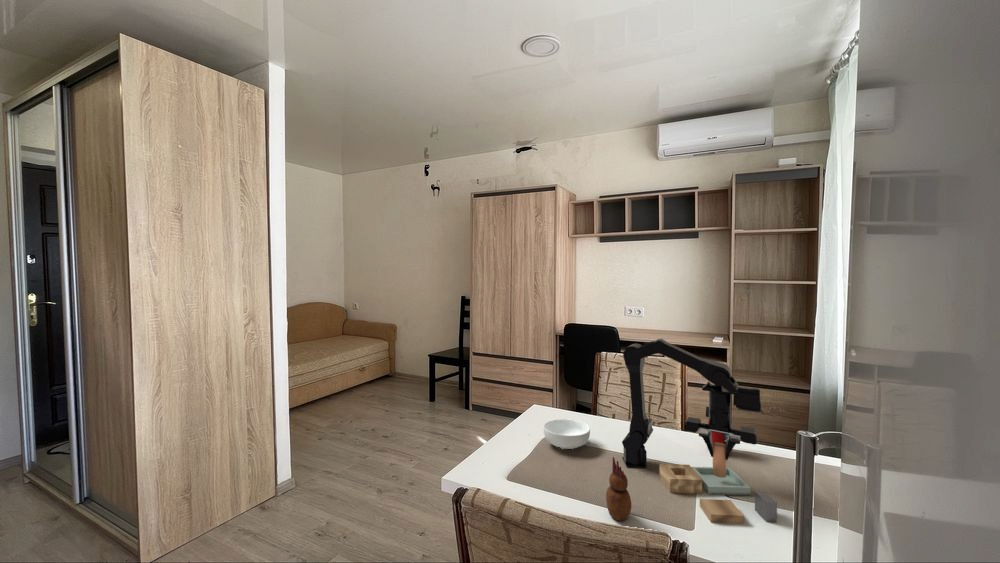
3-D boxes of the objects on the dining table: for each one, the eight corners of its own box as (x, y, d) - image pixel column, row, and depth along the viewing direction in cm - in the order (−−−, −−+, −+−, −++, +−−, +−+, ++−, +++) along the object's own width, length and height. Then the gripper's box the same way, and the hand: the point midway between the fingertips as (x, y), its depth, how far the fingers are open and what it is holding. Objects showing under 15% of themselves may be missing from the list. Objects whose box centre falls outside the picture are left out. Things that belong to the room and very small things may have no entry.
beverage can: (732, 456, 137) (732, 422, 137) (711, 455, 139) (711, 420, 138) (725, 448, 144) (725, 415, 143) (705, 446, 145) (705, 414, 145)
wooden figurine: (603, 509, 108) (603, 454, 107) (623, 508, 108) (623, 453, 108) (612, 525, 101) (612, 466, 100) (634, 523, 101) (634, 465, 101)
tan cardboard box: (710, 523, 102) (710, 514, 102) (699, 507, 109) (699, 498, 109) (743, 525, 101) (743, 515, 101) (730, 509, 108) (730, 500, 108)
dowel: (725, 478, 117) (725, 448, 117) (712, 475, 119) (712, 445, 119) (726, 473, 120) (726, 444, 120) (713, 470, 122) (713, 441, 122)
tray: (708, 494, 114) (708, 486, 114) (691, 473, 126) (691, 466, 126) (750, 495, 114) (750, 487, 114) (729, 474, 125) (729, 467, 125)
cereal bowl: (596, 442, 150) (596, 423, 150) (580, 460, 136) (580, 439, 136) (554, 432, 159) (554, 415, 159) (535, 448, 145) (535, 429, 145)
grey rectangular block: (766, 521, 102) (766, 502, 102) (754, 510, 107) (755, 491, 107) (776, 522, 101) (776, 502, 101) (764, 510, 106) (765, 491, 106)
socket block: (670, 492, 115) (670, 479, 115) (659, 476, 124) (659, 464, 124) (702, 493, 115) (702, 479, 115) (689, 477, 124) (689, 464, 124)
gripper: (757, 404, 121) (756, 455, 121) (689, 394, 131) (689, 441, 132) (756, 415, 112) (756, 470, 112) (684, 403, 122) (683, 454, 122)
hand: (719, 458), depth 120 cm, fingers closed on dowel, 3 cm apart
